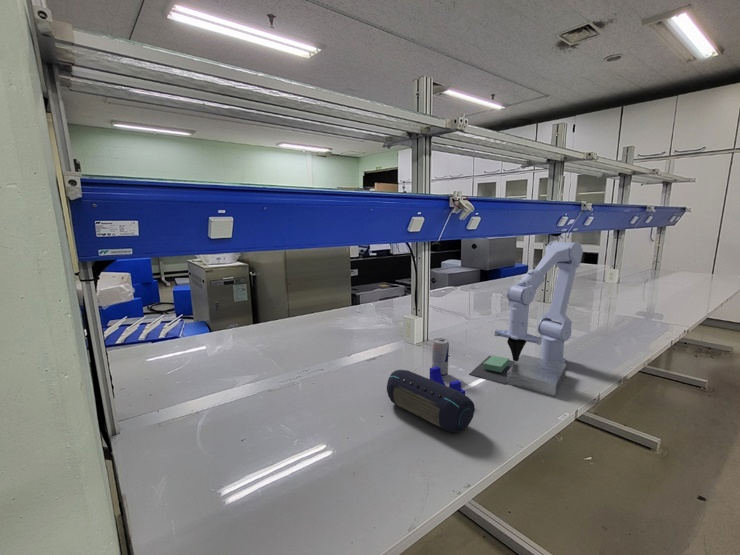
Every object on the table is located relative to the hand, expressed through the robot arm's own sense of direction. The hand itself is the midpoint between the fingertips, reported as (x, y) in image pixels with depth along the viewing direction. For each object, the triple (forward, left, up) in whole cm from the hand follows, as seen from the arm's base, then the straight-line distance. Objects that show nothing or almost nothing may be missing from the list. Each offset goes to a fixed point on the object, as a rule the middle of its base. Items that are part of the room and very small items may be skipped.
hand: (515, 360), depth 118 cm
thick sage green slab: (0, -6, -2) cm, 7 cm away
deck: (0, +7, -5) cm, 8 cm away
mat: (0, -6, -5) cm, 8 cm away
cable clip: (+26, -13, -5) cm, 29 cm away
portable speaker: (+41, -12, -5) cm, 43 cm away
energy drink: (+16, -20, -5) cm, 26 cm away
